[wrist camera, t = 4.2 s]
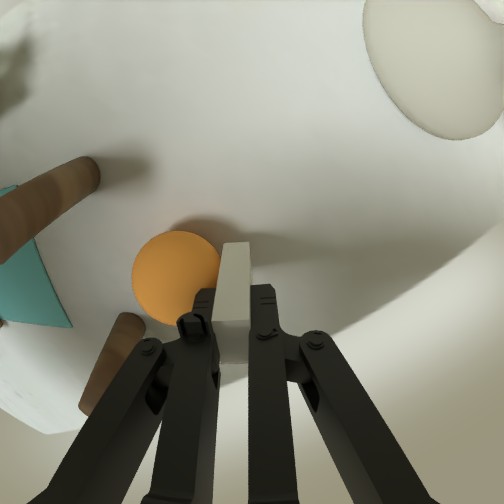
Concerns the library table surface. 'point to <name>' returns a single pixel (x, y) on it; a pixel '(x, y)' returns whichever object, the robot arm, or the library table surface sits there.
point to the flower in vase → (438, 63)
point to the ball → (173, 274)
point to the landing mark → (28, 289)
